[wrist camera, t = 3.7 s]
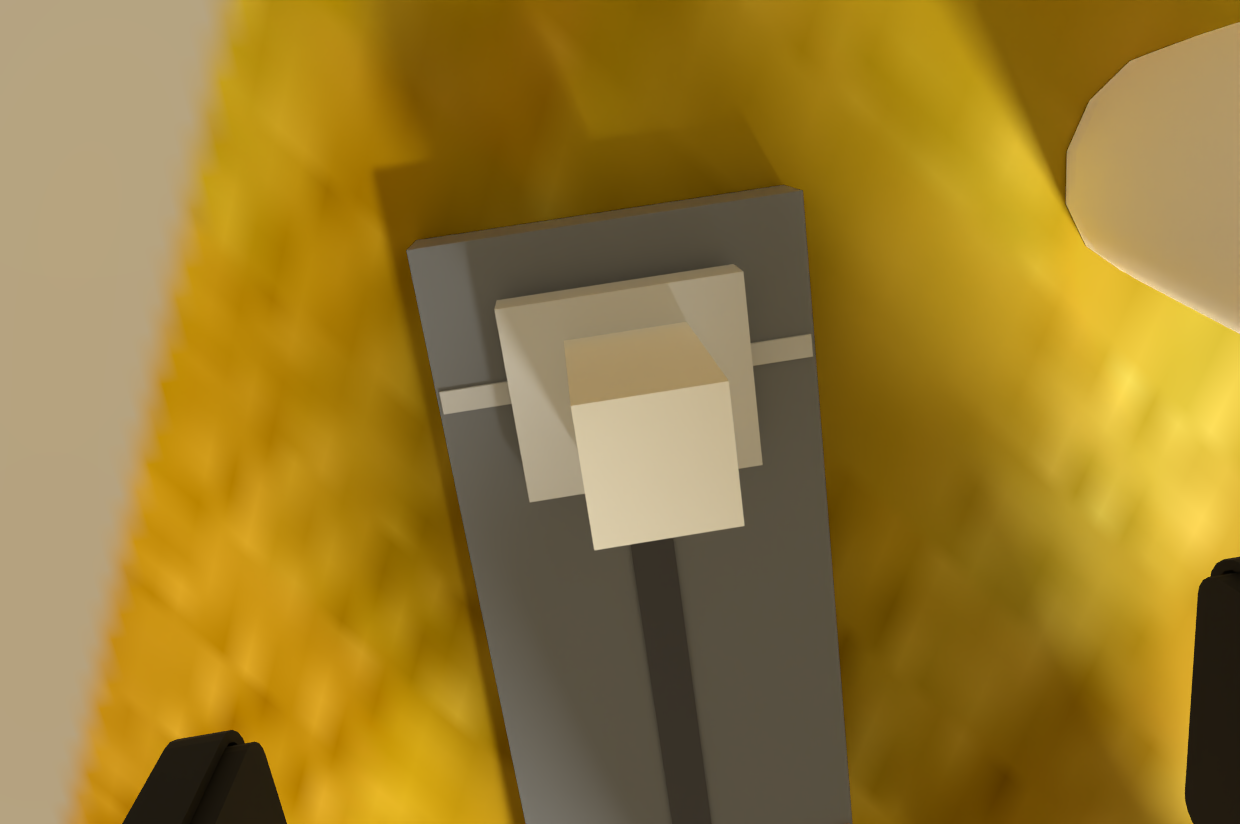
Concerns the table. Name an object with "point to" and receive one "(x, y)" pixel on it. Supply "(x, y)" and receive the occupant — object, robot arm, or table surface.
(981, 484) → the table surface
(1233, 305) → the foam cup
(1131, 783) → the table surface
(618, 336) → the fader tab
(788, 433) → the rail board
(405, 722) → the table surface
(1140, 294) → the table surface
